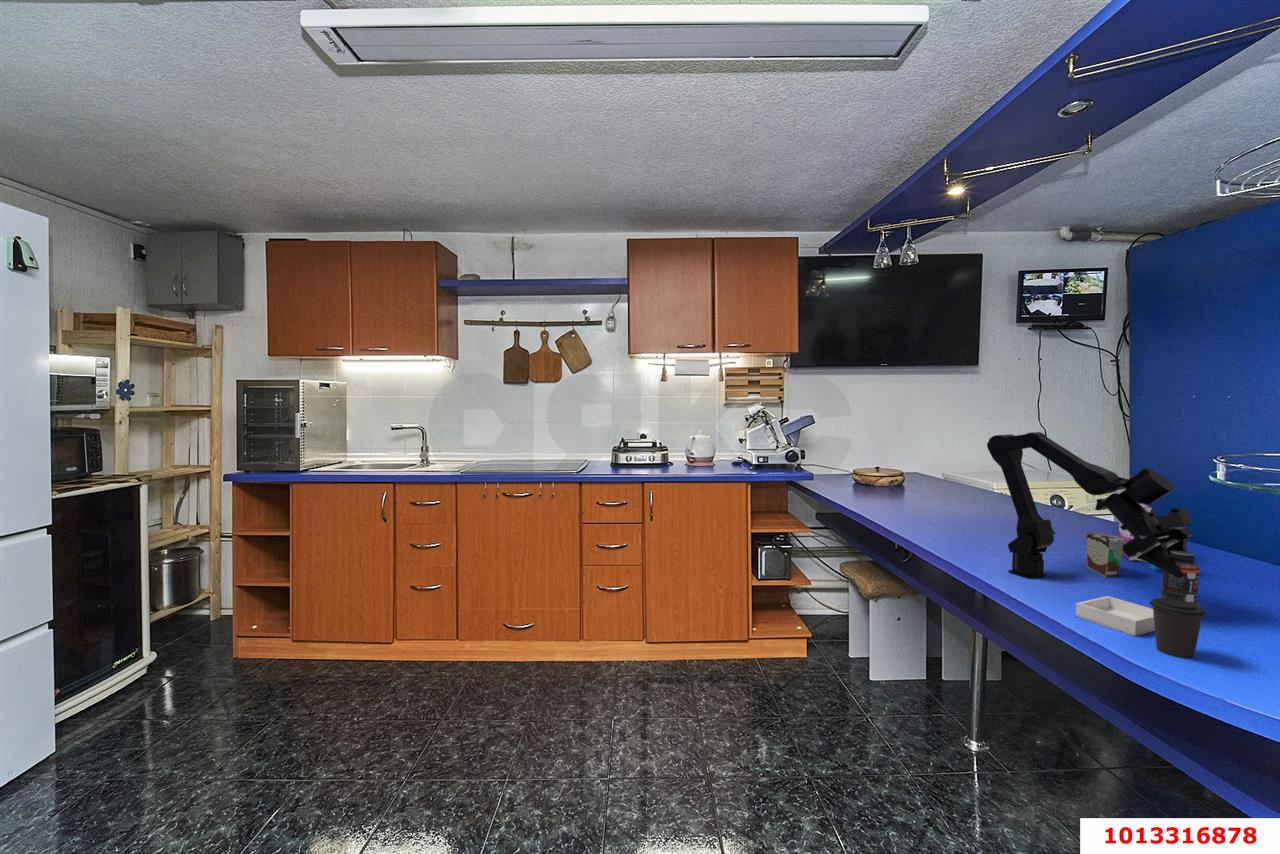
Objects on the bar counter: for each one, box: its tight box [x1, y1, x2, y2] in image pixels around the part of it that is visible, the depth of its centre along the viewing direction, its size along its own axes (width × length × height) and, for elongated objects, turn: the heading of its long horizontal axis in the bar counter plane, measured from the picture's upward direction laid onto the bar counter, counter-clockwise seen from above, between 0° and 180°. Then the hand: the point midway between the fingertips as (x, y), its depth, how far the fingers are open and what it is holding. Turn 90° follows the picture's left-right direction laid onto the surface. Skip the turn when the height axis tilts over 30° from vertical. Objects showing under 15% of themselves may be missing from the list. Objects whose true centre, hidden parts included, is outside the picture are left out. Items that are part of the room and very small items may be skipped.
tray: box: [1075, 595, 1155, 637], centre depth 127 cm, size 11×11×3 cm
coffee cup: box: [1149, 597, 1207, 659], centre depth 112 cm, size 8×8×10 cm
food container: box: [1085, 531, 1125, 578], centre depth 161 cm, size 12×6×10 cm, turn 168°
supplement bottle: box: [1160, 551, 1200, 605], centre depth 130 cm, size 6×6×11 cm
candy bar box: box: [1118, 503, 1153, 564], centre depth 175 cm, size 11×5×16 cm, turn 155°
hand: (1188, 574), depth 129 cm, fingers closed on supplement bottle, 6 cm apart
